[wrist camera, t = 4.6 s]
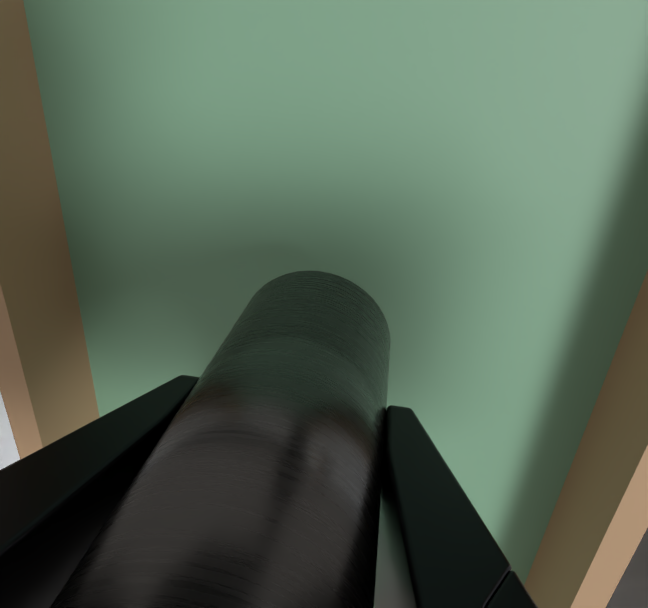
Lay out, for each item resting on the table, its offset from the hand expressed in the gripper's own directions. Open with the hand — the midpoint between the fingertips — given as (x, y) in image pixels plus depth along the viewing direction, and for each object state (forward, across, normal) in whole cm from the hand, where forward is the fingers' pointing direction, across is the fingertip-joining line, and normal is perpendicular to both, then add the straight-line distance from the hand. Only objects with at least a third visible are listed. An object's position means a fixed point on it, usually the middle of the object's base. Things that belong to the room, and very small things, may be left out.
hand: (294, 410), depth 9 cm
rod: (+4, 0, +6) cm, 7 cm away
